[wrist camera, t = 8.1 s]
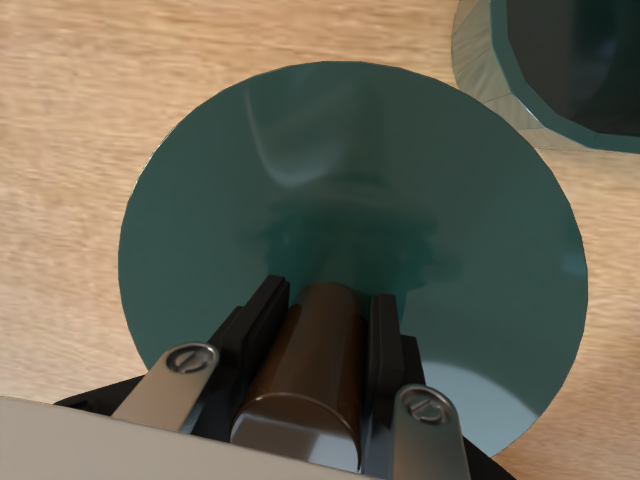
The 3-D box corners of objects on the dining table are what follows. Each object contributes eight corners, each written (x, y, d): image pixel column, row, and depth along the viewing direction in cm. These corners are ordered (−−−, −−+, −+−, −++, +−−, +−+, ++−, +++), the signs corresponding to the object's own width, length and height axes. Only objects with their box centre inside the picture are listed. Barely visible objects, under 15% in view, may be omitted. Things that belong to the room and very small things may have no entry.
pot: (430, 136, 26) (456, 134, 18) (482, -122, 21) (548, -284, 13) (652, 160, 24) (793, 171, 16) (763, -116, 19) (1042, -299, 11)
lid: (147, 422, 17) (6, 598, 10) (124, 48, 12) (-177, -64, 5) (496, 503, 15) (590, 780, 8) (648, 94, 10) (1170, 6, 3)
